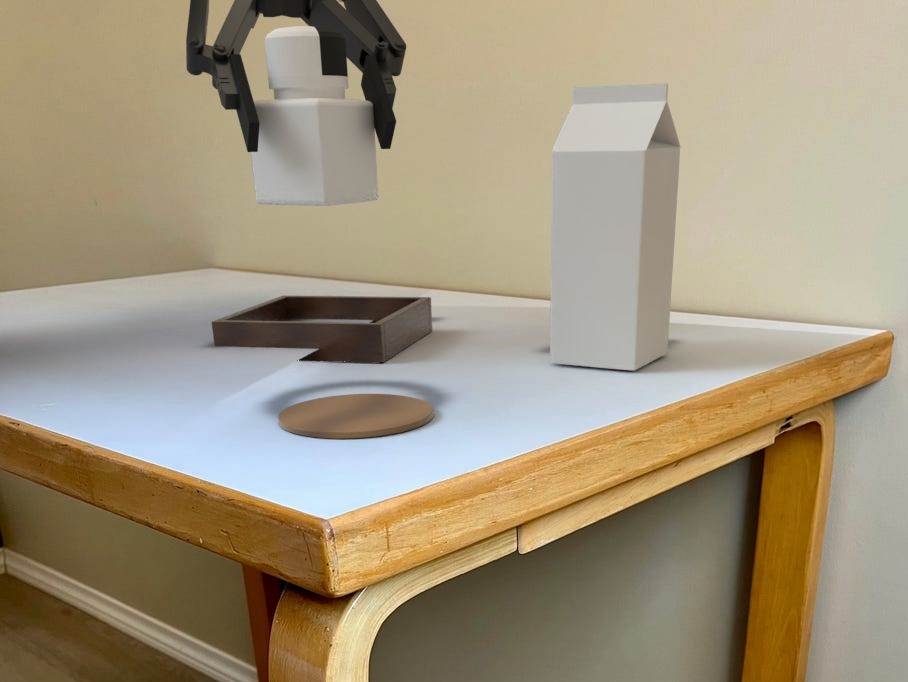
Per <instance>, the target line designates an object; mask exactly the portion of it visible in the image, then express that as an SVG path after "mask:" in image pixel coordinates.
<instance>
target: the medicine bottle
mask: <svg viewBox="0 0 908 682" xmlns="http://www.w3.org/2000/svg"><path fill="white" fill-rule="evenodd" d="M264 47H265V50H264V51H265V59H266V69H267V70H266V71H267V79H268V89H269V90H272V91H273V99H258V100H253V101H254V105H255V108H256V112H257V115H258V119H259V123H260V124H259V139H258V152H250V157H251V158H250V159H251V167H252V174H253V186H254V195H255V201H256V203H257V204H258V205H260V206H261V205H262V206H263V205H265V206H304V207H305V206H309V207H330V206H339V205H348V204H350V205H351V204H358V203H369V202H375V201H378V199H379V185H378V184H379V183H378V167H377V165H378V164H377V150H376V149H377V148H376V131H375V128H374V110H373V104H372V103H371V102H370V101H366V100H365V99H359V98H346V89H349V74H348V71H349V70H348V58H347V55H346V40H345V38H344V36H343V35H342V34H341V33H339V32H337V31H336V30H334V29H331V28H324V27H315V26H308V25H297V26H295V25H294V26H286V27H285V26H284V27H279V28H275V29H273V30H271V31H270V32H269V33H267V34H266V36H265V38H264Z"/></svg>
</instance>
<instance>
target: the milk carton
mask: <svg viewBox="0 0 908 682" xmlns="http://www.w3.org/2000/svg"><path fill="white" fill-rule="evenodd" d="M668 91H669V83H667V82H666V83H665V82H664V83H645V84H622V85H599V86H598V85H597V86H579V87H578V86H576V87H575V86H574V87H573V88H572V105H571V107H570V110H569V112H568V113H567V116H566V118H565V120H564V123H563V125H562V126H561V127H562V128H561V130H560V131H559V134H558V137H557V139H556V140H555V143H554V145H553V147H552V150H551V228H550V230H551V231H550V232H551V234H550V315H549V316H550V317H549V318H550V325H549V340H550V341H549V362H550V364H556V365H568V366H578V367H579V366H580V367H589V368H598V369H599V368H600V369H611V370H623V371H636V370H638V369H641V368H642V367H644V366H646V365H648V364H649V363H652V362H653V361H655V360H657V359H659V358H661V357H663V356H664V355H666V354H667V353H668V351H669V350H668V349H669V335H670V334H669V333H670V318H671V317H670V316H671V304H672V303H671V301H672V286H673V272H674V271H673V270H674V253H675V240H676V239H675V238H676V223H677V208H678V207H677V205H678V190H679V178H680V177H679V174H680V158H681V143H680V140H679V137H678V133H677V130H676V127H675V122H674V120H673V116H672V113H671V112H672V111H671V108H670V105H669V103H668Z"/></svg>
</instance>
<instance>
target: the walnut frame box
mask: <svg viewBox="0 0 908 682" xmlns="http://www.w3.org/2000/svg"><path fill="white" fill-rule="evenodd" d="M289 320H294V321H289ZM295 320H340V321H295ZM343 320H345V322H344V321H343ZM347 320H348V321H349V320H350V322H347ZM341 321H343V322H341ZM351 321H369V322H351ZM211 330H212V337H213V345H214V347H225V348H268V349H308V350H309V349H310V350H311V349H312V350H314V351H312V352H311V353H309V354H307V355H305V356H303V357H301V358H299V359H297V360H296V362H320V361H342V362H341V363H358V362H384V363H385V362H387V361H388V360H390V359H392V358H393V357H395V356H396V355H398V354H399V353H401V352H402V351H404V350H405V349H407V348H409V347H410V346H411V345H413V344H414V343H416V342H418V341H419V340H421V339H422V338H424V337H425V336H427V335H428V334H430V333H431V332H432V331H433V315H432V297H430V296H365V295H363V296H362V295H361V296H360V295H359V296H358V295H357V296H356V295H281V296H277V297H275V298H271V299H269V300H266V301H264V302H261V303H258V304H256V305H253V306H251V307H247V308H245V309H242V310H239V311H237V312H233V313H231V314H228V315H226V316H223V317H220V318H217V319H215V320H213V321H212V320H211ZM409 345H410V346H409ZM406 347H407V348H406ZM404 348H405V349H404ZM403 349H404V350H403ZM401 350H402V351H401ZM400 351H401V352H400ZM398 352H399V353H398ZM395 354H396V355H395ZM392 356H393V357H392ZM389 358H390V359H389ZM298 360H299V361H298ZM386 360H387V361H386ZM344 361H345V362H344Z"/></svg>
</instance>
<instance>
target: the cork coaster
mask: <svg viewBox="0 0 908 682" xmlns="http://www.w3.org/2000/svg"><path fill="white" fill-rule="evenodd" d="M434 410H435V409H434V407H433V405H432V404H431V403H429V402H428V401H425V400H423V399H420V398H418V397H412V396H406V395H401V394H391V393H352V394H339V395H331V396H323V397H317V398H313V399H308V400H304V401H301V402H298V403H295V404H292V405H290V406H287V407H286V408H284V409H282V410H281V411H280V412H279V413H278V415H277V420H278V425H279V426H280V428H282V429H283V430H284V431H286V432H289V433H292V434H295V435H300V436H304V437H310V438H320V439H339V440H342V439H345V440H346V439H365V438H377V437H382V436H384V437H385V436H389V435H395V434H399V433H404V432H409V431H411V430H414V429H418V428H420V427H423V426H424V425H426V424H428V423H430V422H431V421H432V420H433V418H434V416H435V411H434Z"/></svg>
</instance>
